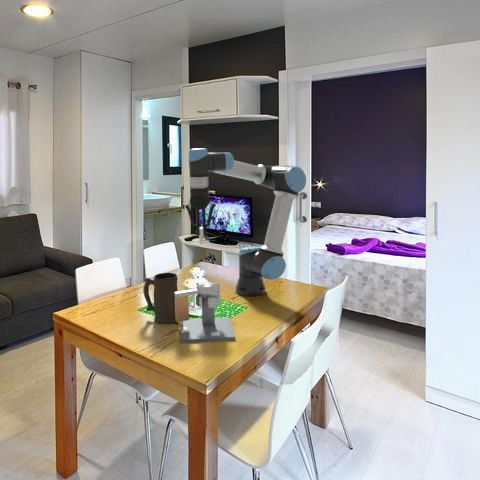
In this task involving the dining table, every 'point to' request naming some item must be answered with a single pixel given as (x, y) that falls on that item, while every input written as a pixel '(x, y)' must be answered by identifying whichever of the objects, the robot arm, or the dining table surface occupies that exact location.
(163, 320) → the beer stein
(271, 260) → the robot arm
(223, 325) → the post on base plate
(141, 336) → the dining table surface
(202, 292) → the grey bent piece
